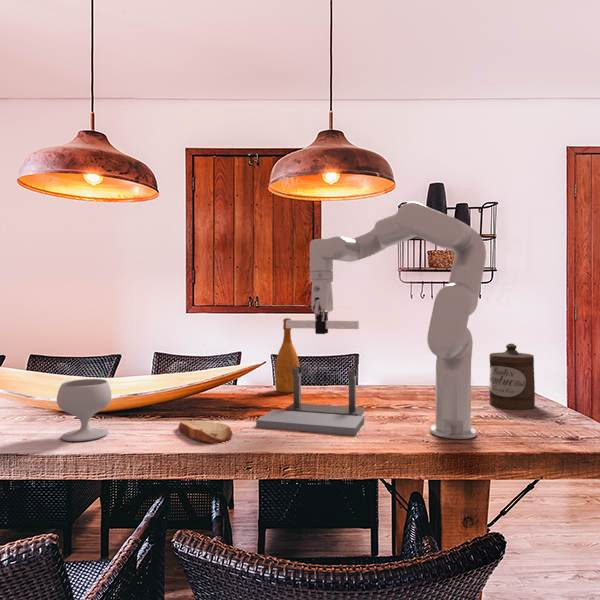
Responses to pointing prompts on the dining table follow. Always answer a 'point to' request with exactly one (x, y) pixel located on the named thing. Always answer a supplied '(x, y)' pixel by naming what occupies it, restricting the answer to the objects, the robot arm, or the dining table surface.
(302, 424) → the board
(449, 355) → the robot arm
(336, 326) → the rail
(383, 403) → the dining table surface
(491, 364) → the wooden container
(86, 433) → the chalice
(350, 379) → the rack
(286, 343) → the wine bottle
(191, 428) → the bread slice
